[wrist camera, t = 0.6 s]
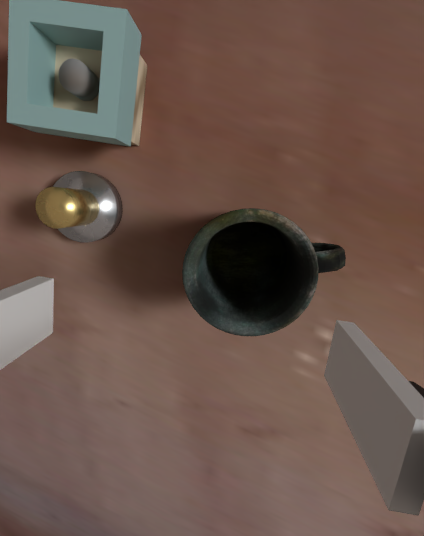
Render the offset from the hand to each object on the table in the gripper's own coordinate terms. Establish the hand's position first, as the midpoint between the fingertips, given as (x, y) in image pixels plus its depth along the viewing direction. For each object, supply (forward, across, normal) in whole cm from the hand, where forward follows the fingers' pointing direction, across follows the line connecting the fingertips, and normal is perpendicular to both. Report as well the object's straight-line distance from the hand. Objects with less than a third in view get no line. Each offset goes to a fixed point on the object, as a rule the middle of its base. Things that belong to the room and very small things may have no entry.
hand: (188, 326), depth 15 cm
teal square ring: (+19, -15, +15) cm, 29 cm away
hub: (+24, -16, +3) cm, 29 cm away
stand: (+24, -15, +15) cm, 32 cm away
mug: (+24, +5, 0) cm, 25 cm away
